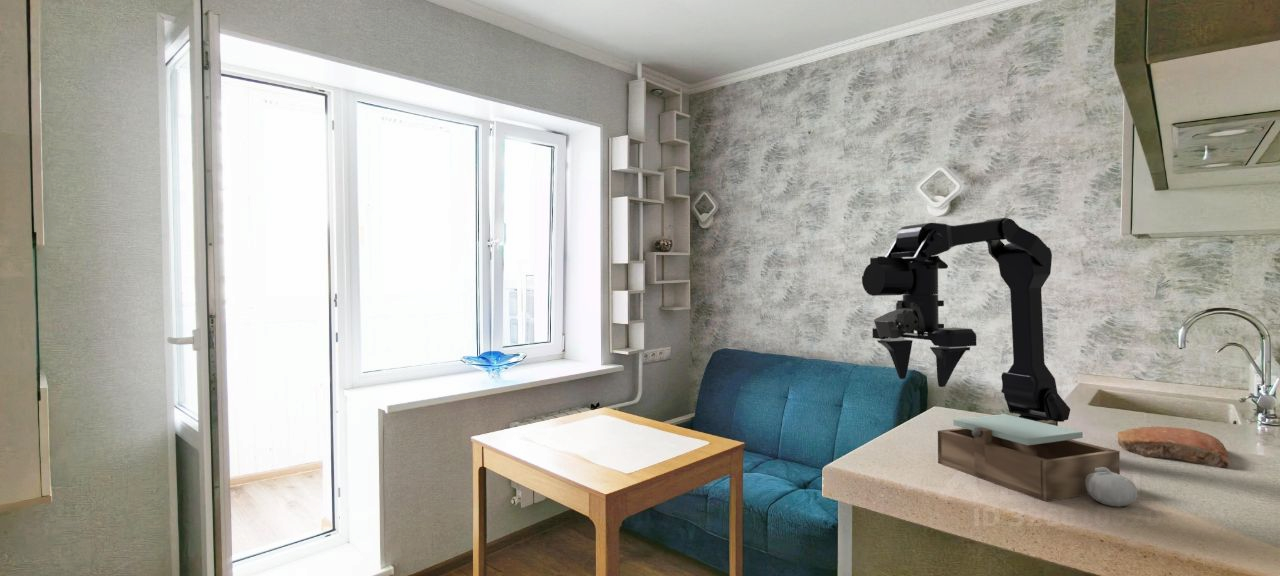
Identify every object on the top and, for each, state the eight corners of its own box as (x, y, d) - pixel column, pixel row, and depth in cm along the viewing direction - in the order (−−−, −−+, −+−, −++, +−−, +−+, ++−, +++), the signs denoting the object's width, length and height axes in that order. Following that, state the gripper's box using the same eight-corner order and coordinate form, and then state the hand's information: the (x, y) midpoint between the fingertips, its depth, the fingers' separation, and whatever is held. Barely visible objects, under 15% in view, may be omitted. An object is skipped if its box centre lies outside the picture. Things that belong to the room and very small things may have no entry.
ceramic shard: (1117, 413, 121) (1218, 434, 112) (1112, 444, 121) (1212, 467, 112) (1122, 417, 109) (1235, 441, 100) (1116, 451, 109) (1229, 478, 100)
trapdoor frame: (1008, 453, 111) (1007, 410, 111) (1124, 487, 92) (1123, 435, 92) (933, 463, 106) (933, 418, 105) (1041, 502, 87) (1040, 447, 86)
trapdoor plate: (1004, 419, 109) (1004, 413, 109) (1082, 437, 95) (1082, 431, 95) (953, 425, 105) (953, 419, 105) (1027, 445, 91) (1027, 438, 91)
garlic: (1081, 503, 86) (1081, 468, 86) (1087, 494, 90) (1086, 459, 90) (1135, 514, 82) (1135, 477, 82) (1138, 503, 86) (1138, 468, 86)
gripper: (848, 295, 111) (849, 377, 111) (924, 296, 93) (925, 395, 93) (896, 293, 115) (897, 374, 115) (978, 295, 97) (979, 390, 97)
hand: (921, 382), depth 105 cm, fingers open, 9 cm apart
